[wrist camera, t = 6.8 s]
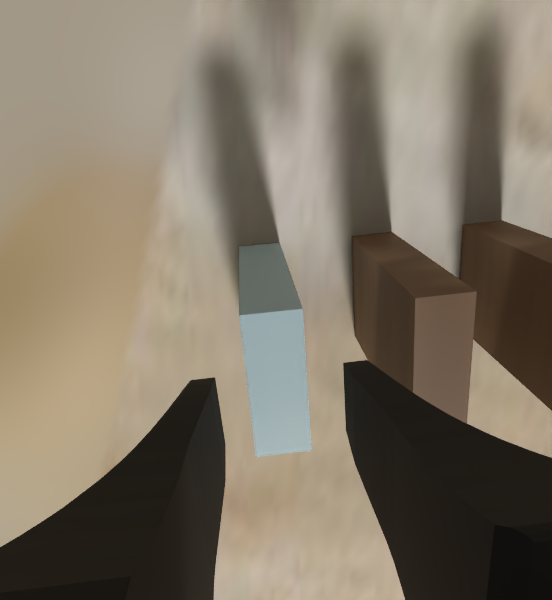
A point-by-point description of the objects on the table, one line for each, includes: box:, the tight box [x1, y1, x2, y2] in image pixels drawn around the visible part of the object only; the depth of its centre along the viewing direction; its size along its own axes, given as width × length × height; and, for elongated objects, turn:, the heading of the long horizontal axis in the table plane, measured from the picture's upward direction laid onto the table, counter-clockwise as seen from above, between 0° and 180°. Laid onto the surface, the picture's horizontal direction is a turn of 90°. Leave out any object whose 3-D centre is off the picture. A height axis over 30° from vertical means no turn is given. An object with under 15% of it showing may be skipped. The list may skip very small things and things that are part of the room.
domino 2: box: [460, 221, 552, 410], centre depth 16 cm, size 2×4×7 cm, turn 5°
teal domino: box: [239, 243, 312, 457], centre depth 16 cm, size 2×4×7 cm, turn 5°
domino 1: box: [352, 232, 477, 424], centre depth 16 cm, size 2×4×7 cm, turn 5°
